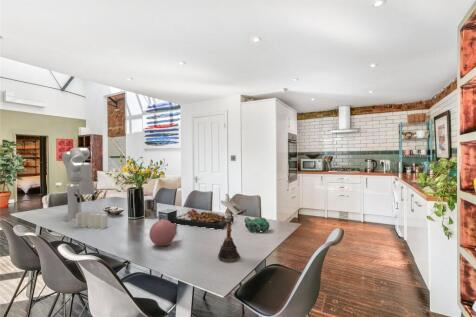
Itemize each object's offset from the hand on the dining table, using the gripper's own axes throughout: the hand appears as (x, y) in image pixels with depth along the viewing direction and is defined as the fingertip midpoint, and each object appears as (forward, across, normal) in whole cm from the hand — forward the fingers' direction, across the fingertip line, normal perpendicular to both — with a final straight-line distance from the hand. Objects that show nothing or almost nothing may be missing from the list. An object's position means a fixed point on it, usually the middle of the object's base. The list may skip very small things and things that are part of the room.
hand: (86, 201), depth 181 cm
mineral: (+18, +79, -104) cm, 132 cm away
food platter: (+20, +68, -57) cm, 91 cm away
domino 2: (+19, 0, 0) cm, 19 cm away
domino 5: (+19, +8, -15) cm, 25 cm away
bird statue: (+18, +32, -122) cm, 128 cm away
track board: (+20, +2, -5) cm, 21 cm away
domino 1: (+19, -3, +4) cm, 20 cm away
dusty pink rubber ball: (+18, +20, -77) cm, 81 cm away
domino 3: (+19, +2, -5) cm, 20 cm away
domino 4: (+19, +5, -10) cm, 22 cm away
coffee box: (+20, +48, -11) cm, 53 cm away
